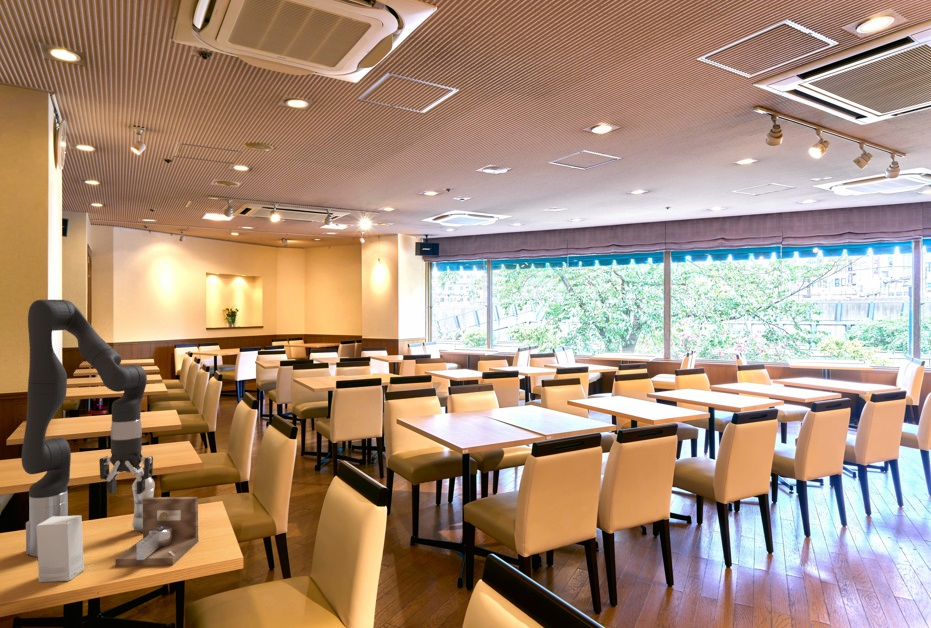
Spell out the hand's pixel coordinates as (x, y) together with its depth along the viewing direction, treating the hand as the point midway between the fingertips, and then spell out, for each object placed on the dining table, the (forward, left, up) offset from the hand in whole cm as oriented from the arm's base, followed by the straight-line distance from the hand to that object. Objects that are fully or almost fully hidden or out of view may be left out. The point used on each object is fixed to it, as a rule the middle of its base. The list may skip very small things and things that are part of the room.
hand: (126, 493), depth 160 cm
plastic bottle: (-8, +24, -20) cm, 32 cm away
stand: (+6, +6, -20) cm, 21 cm away
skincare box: (-13, -8, -20) cm, 25 cm away
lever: (+6, +3, -17) cm, 18 cm away
